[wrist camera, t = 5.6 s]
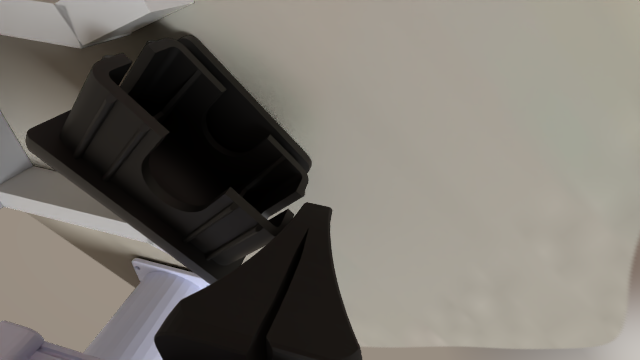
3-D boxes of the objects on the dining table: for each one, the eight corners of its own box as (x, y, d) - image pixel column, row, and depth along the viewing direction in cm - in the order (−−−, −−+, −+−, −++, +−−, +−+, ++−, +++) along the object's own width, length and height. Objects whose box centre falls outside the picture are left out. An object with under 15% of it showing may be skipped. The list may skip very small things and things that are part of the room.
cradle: (228, 240, 23) (201, 285, 20) (35, 194, 26) (-16, 227, 22) (188, -38, 13) (118, -35, 10) (-137, -79, 15) (-283, -88, 12)
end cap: (125, 107, 18) (8, 170, 13) (182, 20, 14) (48, 60, 9) (248, 215, 21) (195, 302, 16) (322, 169, 17) (284, 263, 12)
